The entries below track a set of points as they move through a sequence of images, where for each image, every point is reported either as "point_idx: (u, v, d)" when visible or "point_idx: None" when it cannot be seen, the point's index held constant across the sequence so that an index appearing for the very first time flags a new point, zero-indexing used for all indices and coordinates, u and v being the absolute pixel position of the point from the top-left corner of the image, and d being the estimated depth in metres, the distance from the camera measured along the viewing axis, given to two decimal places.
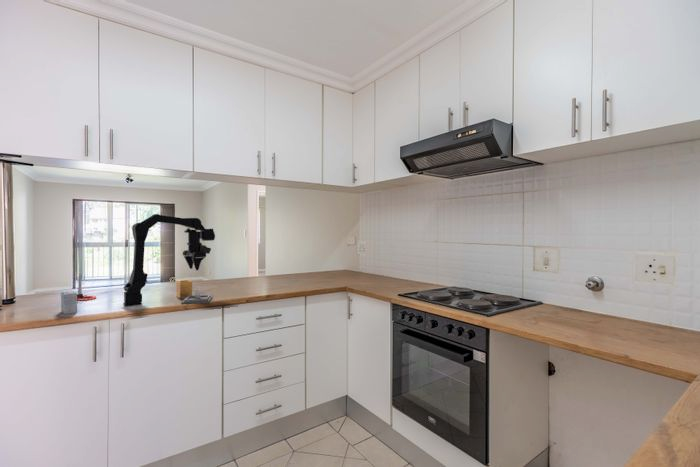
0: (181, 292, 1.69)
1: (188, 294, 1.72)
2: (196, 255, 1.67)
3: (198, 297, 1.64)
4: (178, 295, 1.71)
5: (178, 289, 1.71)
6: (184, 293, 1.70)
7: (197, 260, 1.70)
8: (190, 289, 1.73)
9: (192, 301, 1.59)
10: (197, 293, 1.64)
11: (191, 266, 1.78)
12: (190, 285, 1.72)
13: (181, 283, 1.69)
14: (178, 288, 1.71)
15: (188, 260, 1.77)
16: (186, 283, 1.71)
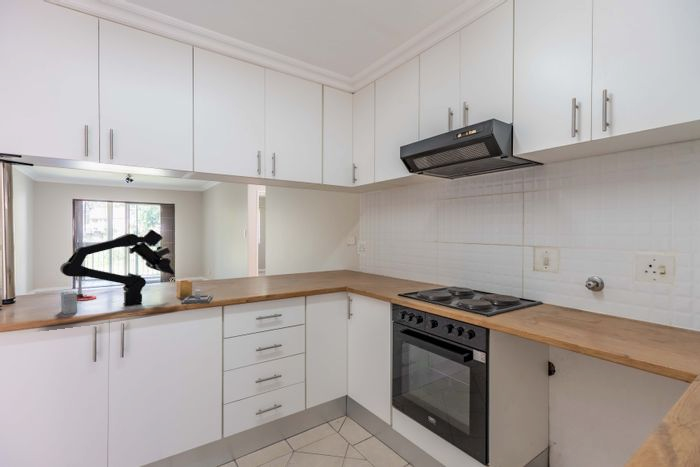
0: (181, 292, 1.69)
1: (188, 294, 1.72)
2: (161, 267, 1.56)
3: (198, 297, 1.64)
4: (178, 295, 1.71)
5: (178, 289, 1.71)
6: (184, 293, 1.70)
7: (166, 267, 1.61)
8: (190, 289, 1.73)
9: (192, 301, 1.59)
10: (197, 293, 1.64)
11: None
12: (190, 285, 1.72)
13: (181, 283, 1.69)
14: (178, 288, 1.71)
15: (157, 268, 1.67)
16: (186, 283, 1.71)
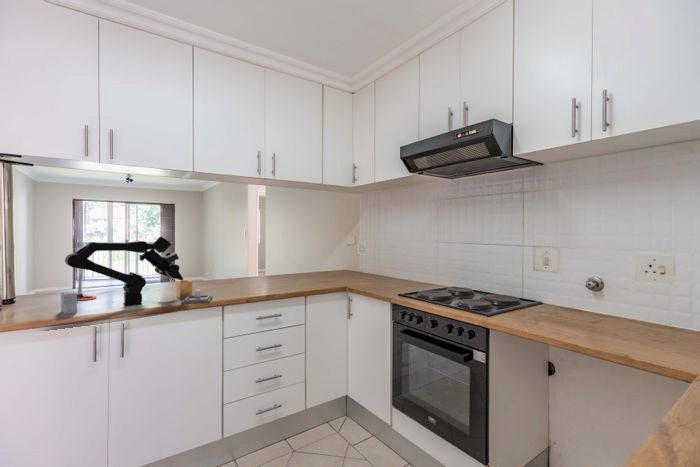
0: (181, 292, 1.69)
1: (188, 294, 1.72)
2: (171, 273, 1.59)
3: (198, 297, 1.64)
4: (178, 295, 1.71)
5: (178, 289, 1.71)
6: (184, 293, 1.70)
7: (175, 273, 1.64)
8: (190, 289, 1.73)
9: (192, 301, 1.59)
10: (197, 293, 1.64)
11: None
12: (190, 285, 1.72)
13: (181, 283, 1.69)
14: (178, 288, 1.71)
15: (166, 274, 1.71)
16: (186, 283, 1.71)
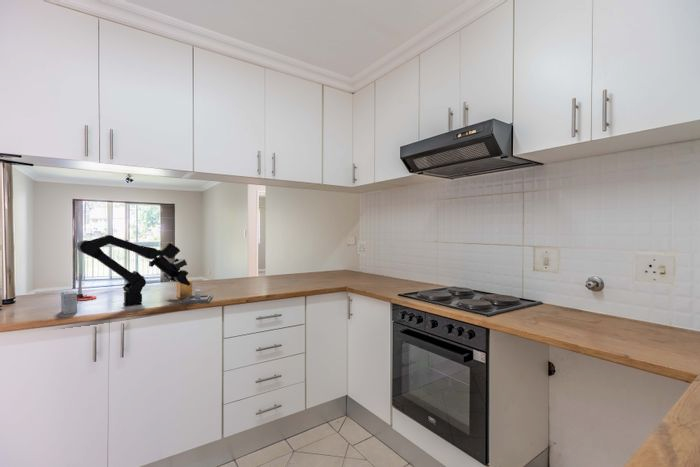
0: (181, 292, 1.69)
1: (188, 294, 1.72)
2: (180, 279, 1.62)
3: (198, 297, 1.64)
4: (178, 295, 1.71)
5: (178, 289, 1.71)
6: (184, 293, 1.70)
7: (182, 279, 1.68)
8: (190, 289, 1.73)
9: (192, 301, 1.59)
10: (197, 293, 1.64)
11: None
12: (190, 285, 1.73)
13: (181, 283, 1.69)
14: (178, 288, 1.71)
15: (175, 280, 1.73)
16: None
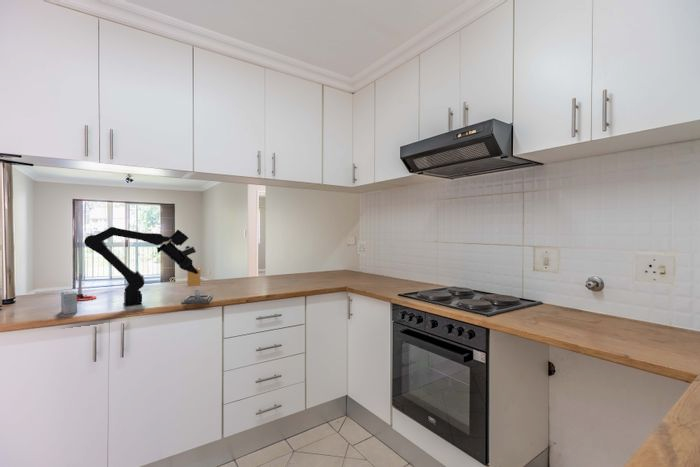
0: (189, 280, 1.65)
1: (196, 282, 1.67)
2: (182, 266, 1.58)
3: (198, 297, 1.64)
4: None
5: None
6: (192, 281, 1.66)
7: (189, 267, 1.64)
8: (198, 277, 1.67)
9: (192, 301, 1.59)
10: (197, 293, 1.64)
11: None
12: (198, 273, 1.67)
13: (188, 271, 1.65)
14: None
15: None
16: None
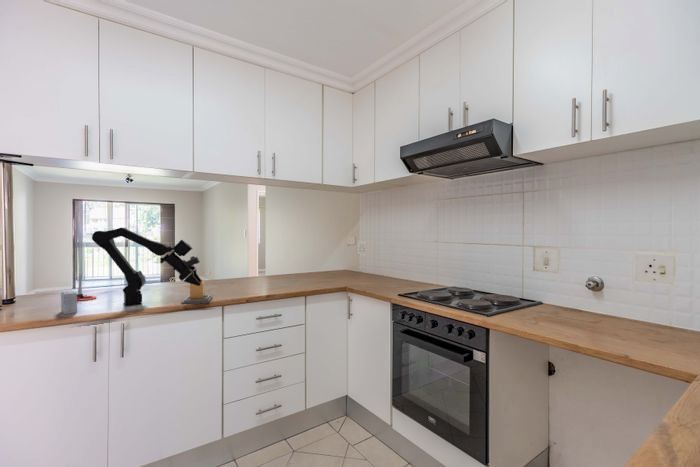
0: (191, 294, 1.61)
1: (199, 296, 1.62)
2: (181, 278, 1.54)
3: None
4: None
5: None
6: (194, 295, 1.62)
7: (190, 278, 1.58)
8: (201, 291, 1.62)
9: (192, 301, 1.59)
10: None
11: (199, 280, 1.69)
12: (201, 287, 1.62)
13: (191, 284, 1.61)
14: None
15: None
16: (196, 285, 1.62)
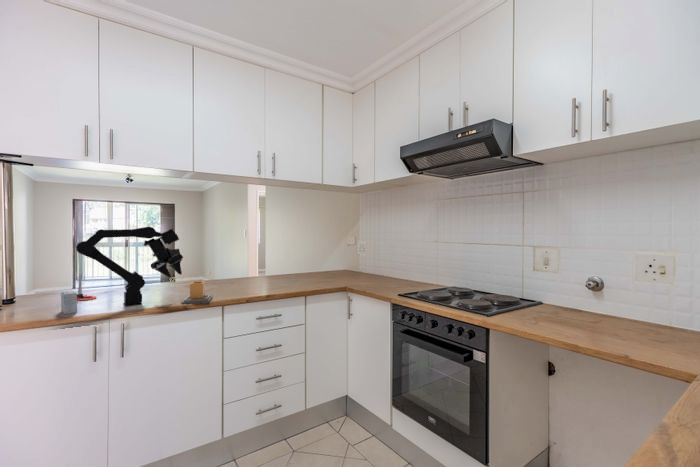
0: (191, 294, 1.61)
1: (199, 296, 1.62)
2: (174, 260, 1.58)
3: None
4: None
5: None
6: (194, 295, 1.62)
7: (176, 265, 1.62)
8: (201, 291, 1.62)
9: (192, 301, 1.59)
10: None
11: (168, 274, 1.68)
12: (201, 287, 1.62)
13: (191, 284, 1.61)
14: None
15: (162, 270, 1.66)
16: (196, 285, 1.62)
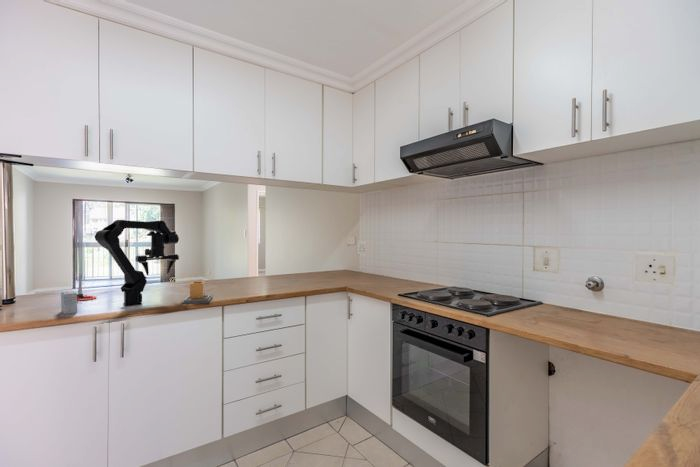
0: (191, 294, 1.61)
1: (199, 296, 1.62)
2: None
3: None
4: None
5: None
6: (194, 295, 1.62)
7: None
8: (201, 291, 1.62)
9: (192, 301, 1.59)
10: None
11: (147, 272, 1.64)
12: (201, 287, 1.62)
13: (191, 284, 1.61)
14: None
15: None
16: (196, 285, 1.62)
